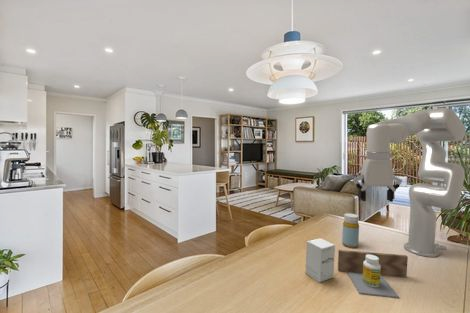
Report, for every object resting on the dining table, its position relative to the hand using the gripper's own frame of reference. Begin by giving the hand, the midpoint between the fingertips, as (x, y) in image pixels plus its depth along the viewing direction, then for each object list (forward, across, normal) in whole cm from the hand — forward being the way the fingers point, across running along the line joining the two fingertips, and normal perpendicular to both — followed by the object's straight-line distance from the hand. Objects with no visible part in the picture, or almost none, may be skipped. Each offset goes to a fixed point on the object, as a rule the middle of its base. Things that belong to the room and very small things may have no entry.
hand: (376, 200), depth 91 cm
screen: (+28, +2, +3) cm, 28 cm away
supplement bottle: (+27, +6, +11) cm, 30 cm away
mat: (+27, +6, +11) cm, 30 cm away
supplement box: (+27, +23, +8) cm, 36 cm away
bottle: (+28, +2, -22) cm, 36 cm away
